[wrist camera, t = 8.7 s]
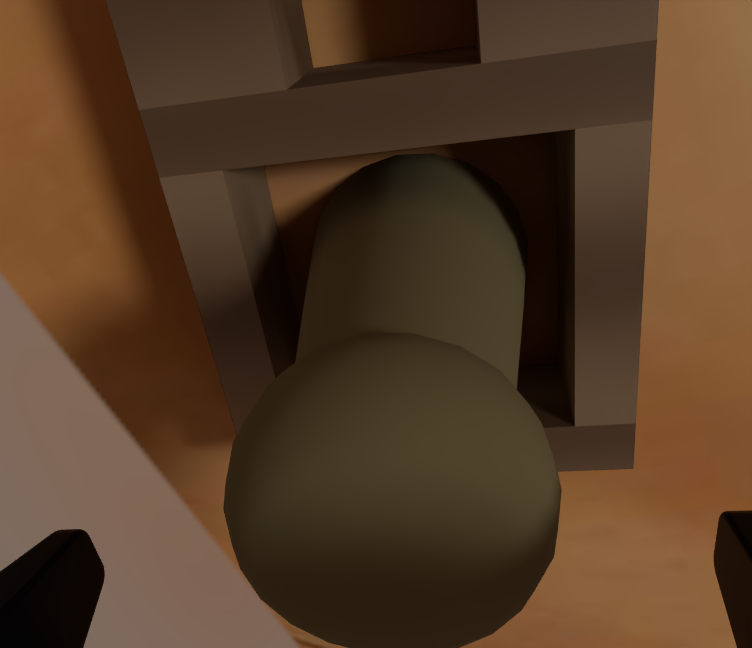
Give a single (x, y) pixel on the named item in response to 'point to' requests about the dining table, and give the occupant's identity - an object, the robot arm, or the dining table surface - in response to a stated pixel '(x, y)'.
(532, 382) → the hole block
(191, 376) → the dining table surface
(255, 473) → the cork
